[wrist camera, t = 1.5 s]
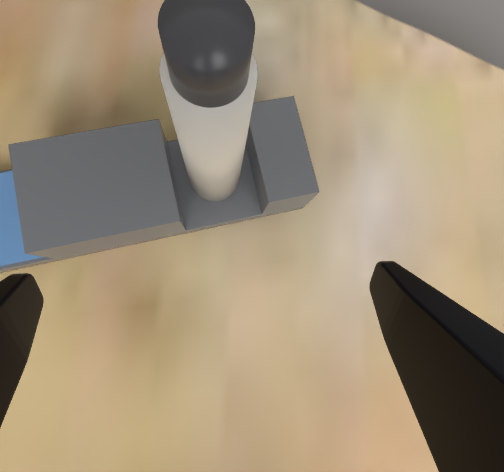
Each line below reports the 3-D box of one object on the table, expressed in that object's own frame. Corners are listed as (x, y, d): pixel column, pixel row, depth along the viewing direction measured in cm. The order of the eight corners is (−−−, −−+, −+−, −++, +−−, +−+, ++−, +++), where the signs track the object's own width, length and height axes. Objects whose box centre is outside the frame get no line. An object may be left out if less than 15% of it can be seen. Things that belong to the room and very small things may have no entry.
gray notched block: (302, 208, 23) (319, 191, 19) (-78, 289, 20) (-150, 290, 16) (281, 127, 24) (293, 96, 20) (-89, 194, 21) (-160, 172, 17)
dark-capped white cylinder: (222, 210, 22) (226, 100, 9) (180, 185, 22) (122, 37, 9) (248, 170, 22) (286, 11, 9) (206, 145, 22) (188, -48, 9)
